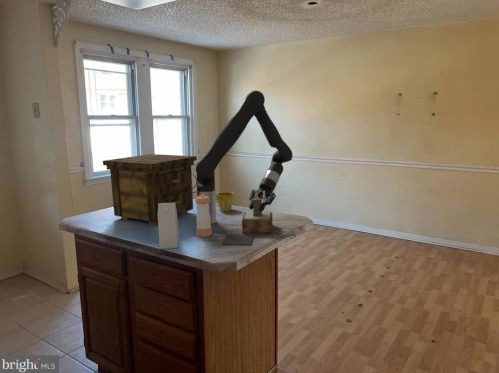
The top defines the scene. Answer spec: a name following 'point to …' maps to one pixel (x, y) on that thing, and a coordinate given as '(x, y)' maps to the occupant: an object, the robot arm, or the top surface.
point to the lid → (257, 211)
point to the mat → (238, 240)
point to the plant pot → (225, 200)
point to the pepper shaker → (203, 216)
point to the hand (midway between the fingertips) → (255, 209)
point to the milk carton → (167, 225)
